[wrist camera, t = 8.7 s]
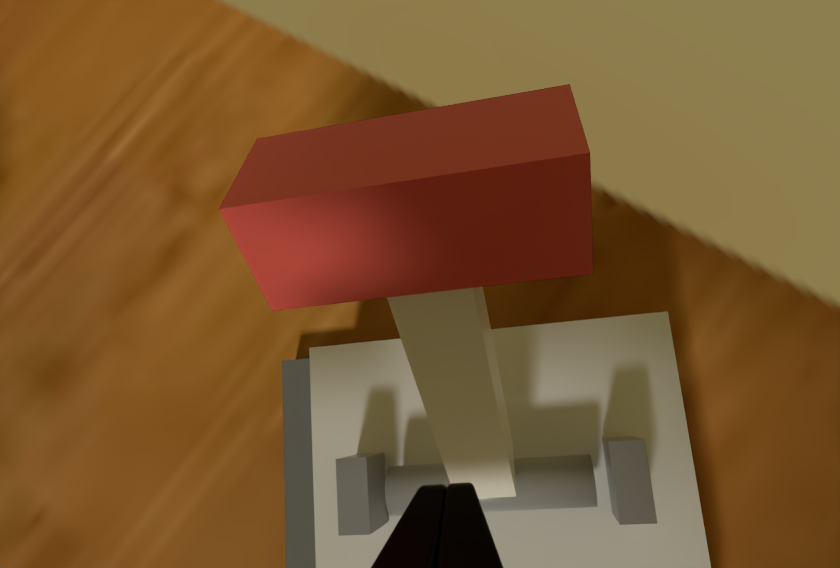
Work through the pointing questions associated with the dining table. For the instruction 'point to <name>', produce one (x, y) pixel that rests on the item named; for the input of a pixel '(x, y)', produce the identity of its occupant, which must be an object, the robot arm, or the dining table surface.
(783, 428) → the dining table surface
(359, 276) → the switch lever
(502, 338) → the switch panel
